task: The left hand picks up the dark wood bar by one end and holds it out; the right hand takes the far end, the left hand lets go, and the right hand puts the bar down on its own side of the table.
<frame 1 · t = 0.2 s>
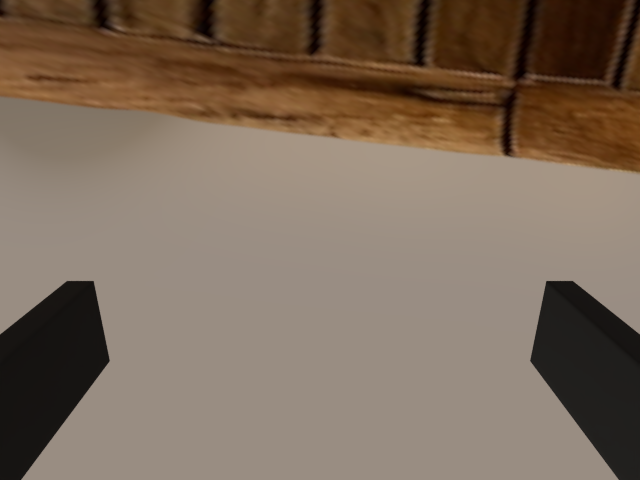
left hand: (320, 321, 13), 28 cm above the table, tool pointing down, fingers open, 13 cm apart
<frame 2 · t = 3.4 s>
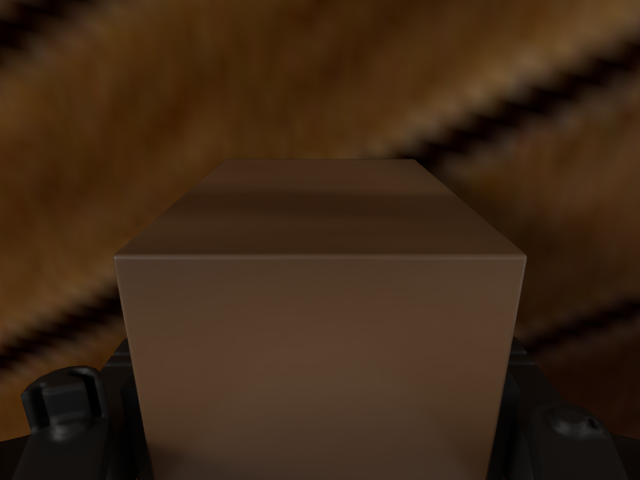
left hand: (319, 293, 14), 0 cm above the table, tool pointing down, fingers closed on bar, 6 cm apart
bar: (320, 463, 18), on the table, touching left hand
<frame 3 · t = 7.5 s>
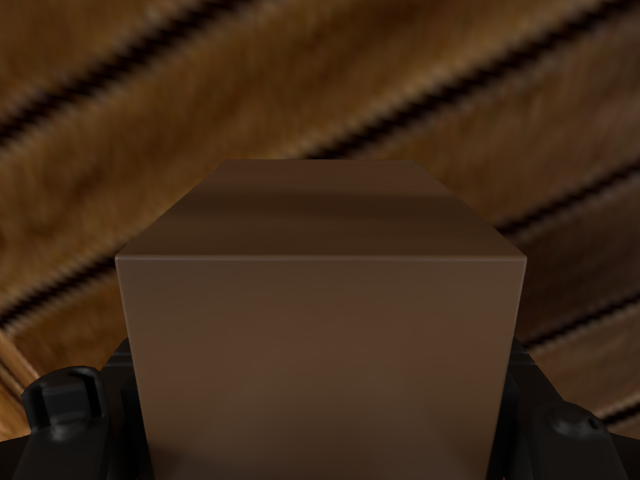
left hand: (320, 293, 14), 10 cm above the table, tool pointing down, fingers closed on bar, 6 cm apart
bar: (319, 463, 18), point 9 cm above the table, touching left hand, right hand
when the left hand's fingers open (10 cm above the table, at t = 8.6 s): bar stays where it is, held by the right hand.
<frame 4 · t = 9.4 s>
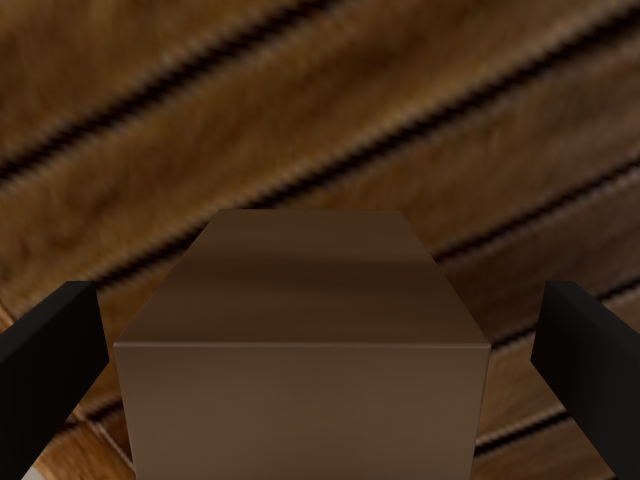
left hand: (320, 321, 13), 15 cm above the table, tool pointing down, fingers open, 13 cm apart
when the right hand's fingers open (5 cm above the table, at t = 16.6 s): bar drops 1 cm, on the table.
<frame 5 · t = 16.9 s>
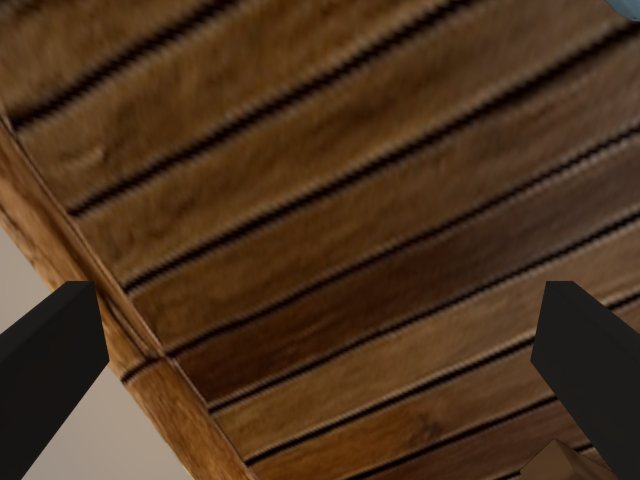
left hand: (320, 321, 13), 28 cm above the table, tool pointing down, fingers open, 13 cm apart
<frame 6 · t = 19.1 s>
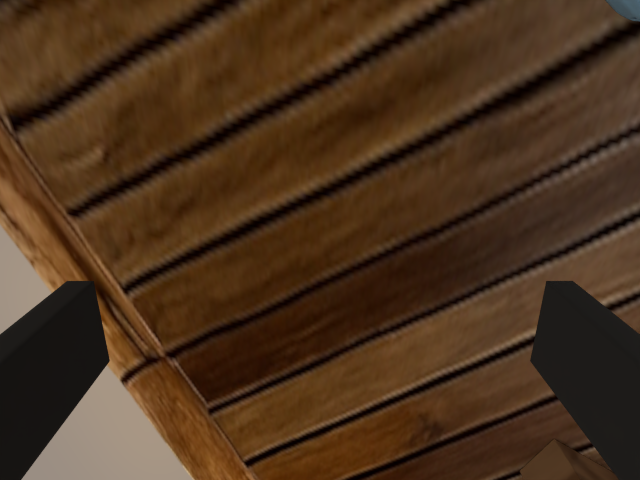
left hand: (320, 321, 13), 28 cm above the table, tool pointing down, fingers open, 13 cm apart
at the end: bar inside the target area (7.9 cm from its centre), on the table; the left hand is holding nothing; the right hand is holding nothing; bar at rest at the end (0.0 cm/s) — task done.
